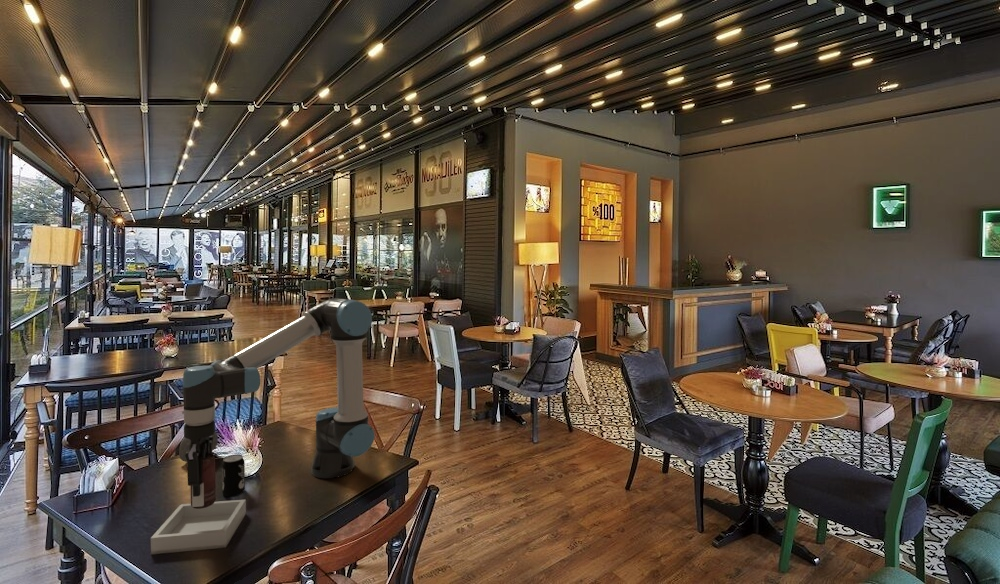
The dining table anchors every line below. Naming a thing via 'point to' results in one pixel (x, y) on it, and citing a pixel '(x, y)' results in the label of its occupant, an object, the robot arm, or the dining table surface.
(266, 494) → the dining table surface
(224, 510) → the bus tub
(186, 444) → the decorative stone
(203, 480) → the can
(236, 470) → the beverage can
